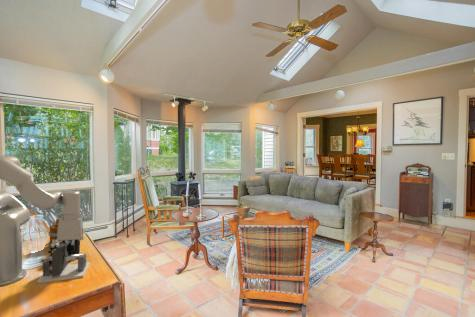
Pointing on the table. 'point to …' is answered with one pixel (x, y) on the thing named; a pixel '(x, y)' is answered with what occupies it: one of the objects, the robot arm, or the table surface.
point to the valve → (53, 246)
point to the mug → (53, 232)
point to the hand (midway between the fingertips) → (70, 252)
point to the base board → (65, 274)
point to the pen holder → (77, 248)
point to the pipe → (80, 257)
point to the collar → (59, 259)
